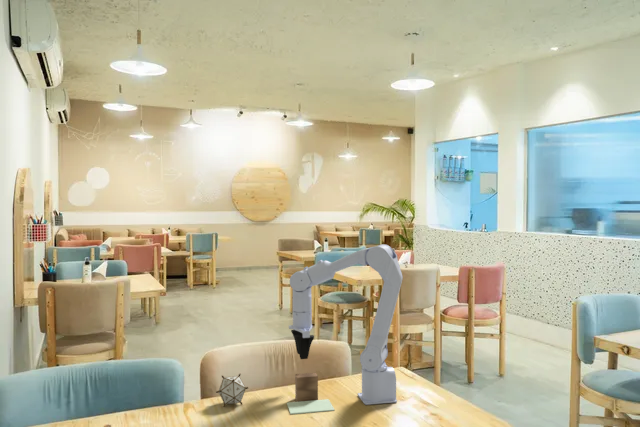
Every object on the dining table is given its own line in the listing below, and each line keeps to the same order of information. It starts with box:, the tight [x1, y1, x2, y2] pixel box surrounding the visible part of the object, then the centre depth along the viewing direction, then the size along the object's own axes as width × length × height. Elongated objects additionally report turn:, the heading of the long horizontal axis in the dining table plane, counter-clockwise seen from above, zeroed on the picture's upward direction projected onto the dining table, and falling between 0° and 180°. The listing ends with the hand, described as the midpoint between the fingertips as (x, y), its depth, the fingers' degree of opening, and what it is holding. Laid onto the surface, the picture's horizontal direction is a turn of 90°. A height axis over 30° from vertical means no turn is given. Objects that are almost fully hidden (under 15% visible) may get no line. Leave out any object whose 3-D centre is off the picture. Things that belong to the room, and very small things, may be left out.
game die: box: [215, 373, 249, 408], centre depth 140 cm, size 9×8×10 cm
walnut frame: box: [294, 372, 319, 402], centre depth 143 cm, size 6×3×7 cm, turn 101°
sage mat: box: [286, 398, 335, 415], centre depth 137 cm, size 12×8×1 cm, turn 101°
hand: (302, 356), depth 150 cm, fingers open, 5 cm apart
